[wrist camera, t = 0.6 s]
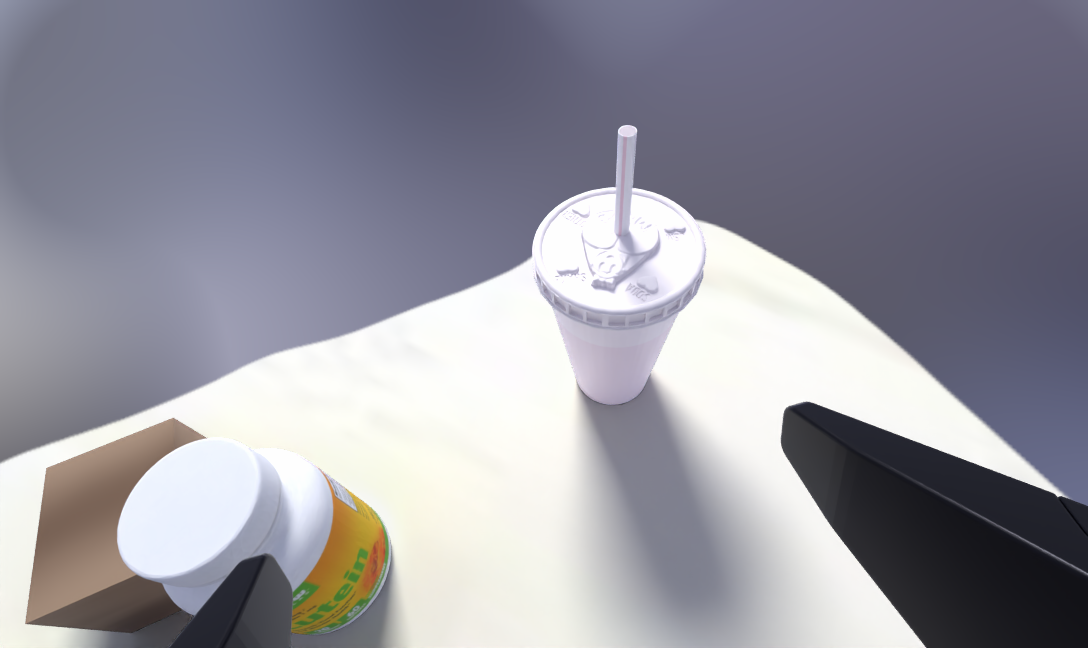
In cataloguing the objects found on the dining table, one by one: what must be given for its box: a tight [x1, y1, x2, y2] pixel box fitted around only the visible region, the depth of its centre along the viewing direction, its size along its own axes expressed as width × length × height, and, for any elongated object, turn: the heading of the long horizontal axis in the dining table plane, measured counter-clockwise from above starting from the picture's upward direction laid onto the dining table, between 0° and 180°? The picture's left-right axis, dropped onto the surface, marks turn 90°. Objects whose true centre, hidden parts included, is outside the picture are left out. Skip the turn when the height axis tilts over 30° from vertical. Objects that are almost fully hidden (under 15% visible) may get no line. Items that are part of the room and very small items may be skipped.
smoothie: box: [533, 125, 706, 405], centre depth 21 cm, size 6×6×14 cm
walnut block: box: [25, 418, 207, 633], centre depth 22 cm, size 6×5×5 cm
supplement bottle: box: [117, 438, 391, 635], centre depth 18 cm, size 5×5×10 cm
